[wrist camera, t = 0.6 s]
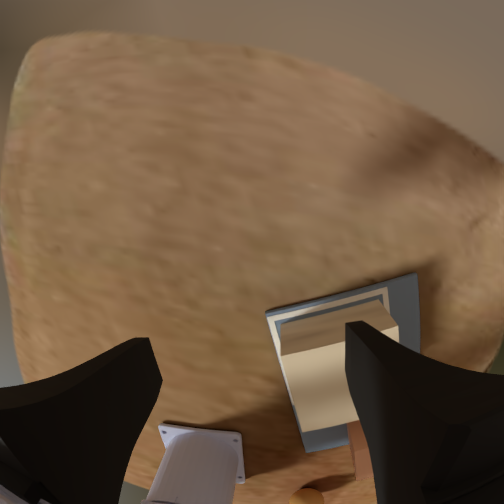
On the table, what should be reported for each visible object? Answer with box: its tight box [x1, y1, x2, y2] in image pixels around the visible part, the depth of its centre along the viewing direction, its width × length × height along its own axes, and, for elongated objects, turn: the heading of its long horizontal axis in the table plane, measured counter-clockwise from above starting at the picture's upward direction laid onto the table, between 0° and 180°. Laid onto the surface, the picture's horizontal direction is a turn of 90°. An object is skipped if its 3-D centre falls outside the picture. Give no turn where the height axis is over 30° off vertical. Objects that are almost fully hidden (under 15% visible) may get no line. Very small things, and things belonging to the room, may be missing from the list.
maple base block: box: [280, 299, 399, 432], centre depth 18 cm, size 7×7×4 cm
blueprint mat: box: [265, 272, 420, 453], centre depth 21 cm, size 16×11×1 cm
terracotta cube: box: [347, 420, 374, 481], centre depth 19 cm, size 5×5×5 cm
